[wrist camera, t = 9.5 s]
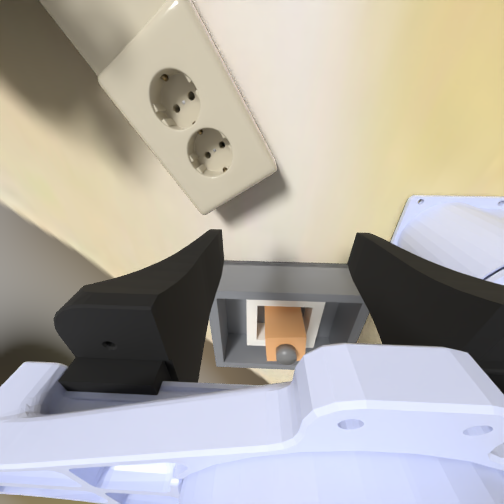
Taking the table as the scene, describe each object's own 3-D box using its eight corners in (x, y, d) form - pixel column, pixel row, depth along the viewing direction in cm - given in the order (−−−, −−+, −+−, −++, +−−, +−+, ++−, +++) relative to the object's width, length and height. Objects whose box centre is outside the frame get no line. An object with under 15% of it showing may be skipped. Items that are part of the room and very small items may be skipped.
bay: (356, 264, 24) (376, 295, 20) (332, 336, 31) (343, 371, 27) (214, 260, 25) (205, 290, 20) (222, 332, 32) (216, 366, 27)
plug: (296, 316, 28) (306, 370, 22) (266, 316, 28) (267, 370, 22) (297, 293, 26) (308, 346, 20) (264, 294, 26) (265, 347, 20)
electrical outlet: (39, -282, 8) (279, 171, 16) (108, -160, 11) (276, 161, 19) (-45, -93, 10) (202, 218, 18) (34, -40, 13) (212, 201, 21)
